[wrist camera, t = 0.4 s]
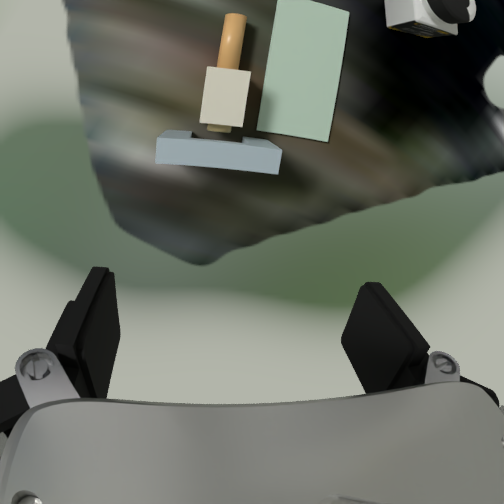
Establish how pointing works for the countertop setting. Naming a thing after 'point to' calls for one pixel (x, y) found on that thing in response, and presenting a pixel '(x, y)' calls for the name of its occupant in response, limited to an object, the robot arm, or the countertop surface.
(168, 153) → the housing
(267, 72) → the mat
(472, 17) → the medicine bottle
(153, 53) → the countertop surface
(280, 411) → the robot arm
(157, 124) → the countertop surface
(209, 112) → the plug
